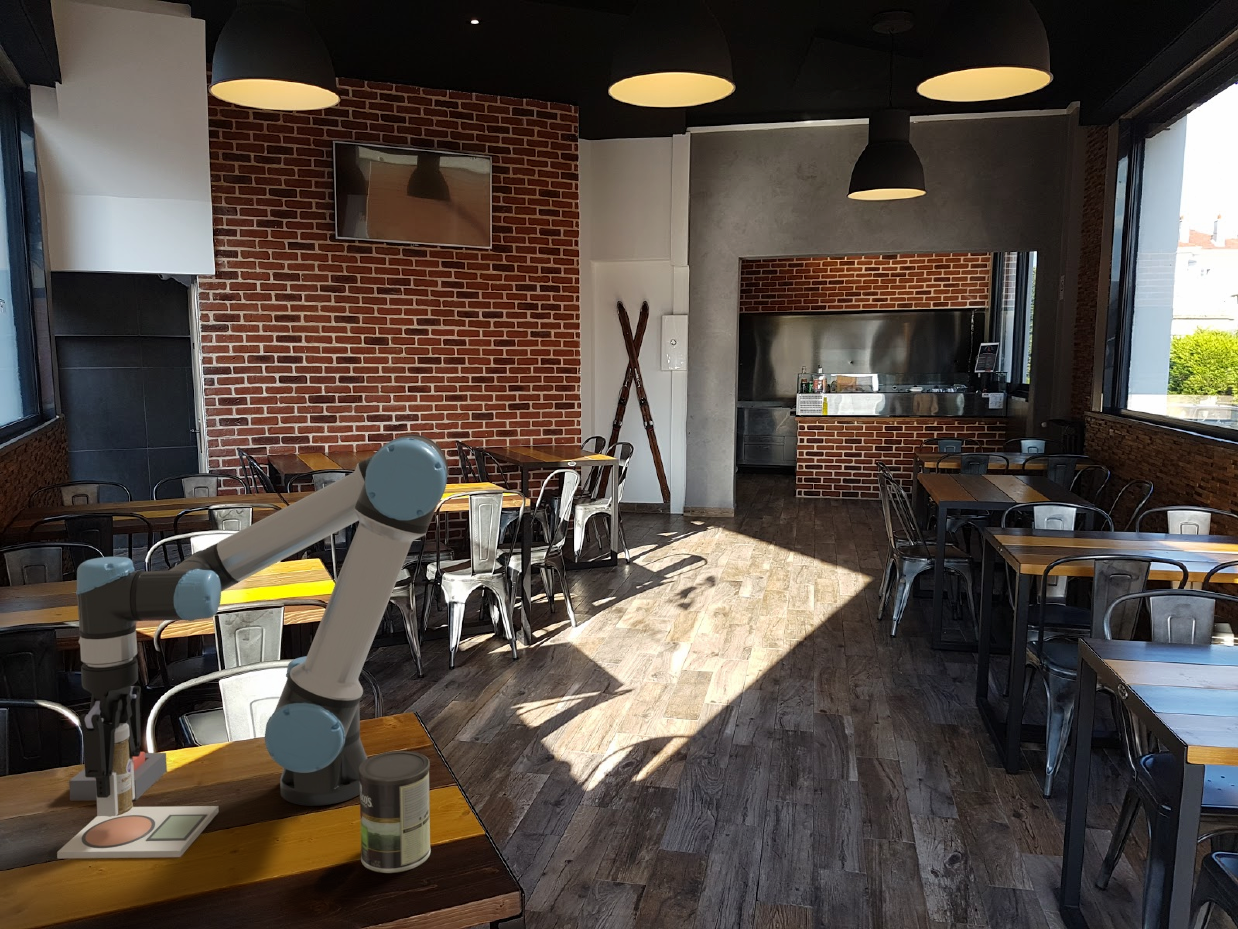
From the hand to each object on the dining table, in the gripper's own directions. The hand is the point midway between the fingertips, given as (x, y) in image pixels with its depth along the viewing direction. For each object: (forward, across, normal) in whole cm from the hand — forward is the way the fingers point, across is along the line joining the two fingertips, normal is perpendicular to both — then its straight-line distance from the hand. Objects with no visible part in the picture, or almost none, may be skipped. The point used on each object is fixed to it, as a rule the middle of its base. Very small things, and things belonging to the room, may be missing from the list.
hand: (116, 806), depth 142 cm
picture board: (+5, -1, +3) cm, 6 cm away
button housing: (+5, -18, -9) cm, 21 cm away
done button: (+3, -18, -9) cm, 20 cm away
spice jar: (+1, 0, 0) cm, 1 cm away
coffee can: (+5, +6, +44) cm, 45 cm away
